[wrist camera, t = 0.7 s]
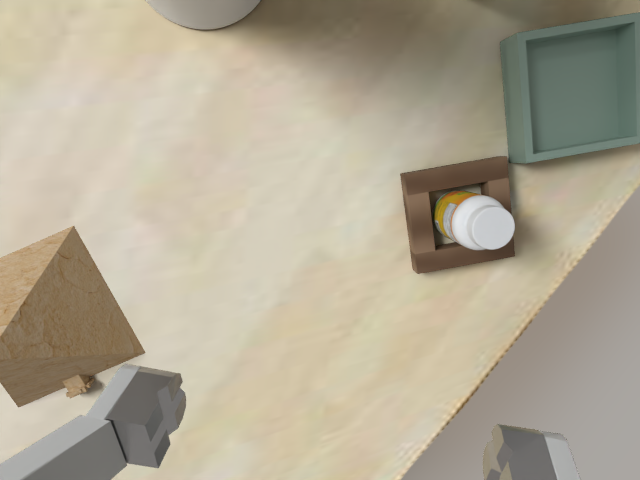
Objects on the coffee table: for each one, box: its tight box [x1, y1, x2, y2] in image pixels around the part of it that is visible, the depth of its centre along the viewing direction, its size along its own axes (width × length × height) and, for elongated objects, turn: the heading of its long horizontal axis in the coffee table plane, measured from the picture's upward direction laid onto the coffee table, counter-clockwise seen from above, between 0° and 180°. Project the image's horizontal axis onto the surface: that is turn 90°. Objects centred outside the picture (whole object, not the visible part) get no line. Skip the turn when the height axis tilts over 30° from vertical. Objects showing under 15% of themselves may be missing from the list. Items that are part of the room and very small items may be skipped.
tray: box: [500, 12, 640, 163], centre depth 45 cm, size 13×13×4 cm
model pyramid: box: [0, 226, 145, 407], centre depth 43 cm, size 17×17×10 cm
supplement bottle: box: [432, 190, 515, 250], centre depth 43 cm, size 5×5×10 cm
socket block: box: [400, 156, 515, 274], centre depth 47 cm, size 11×11×2 cm
